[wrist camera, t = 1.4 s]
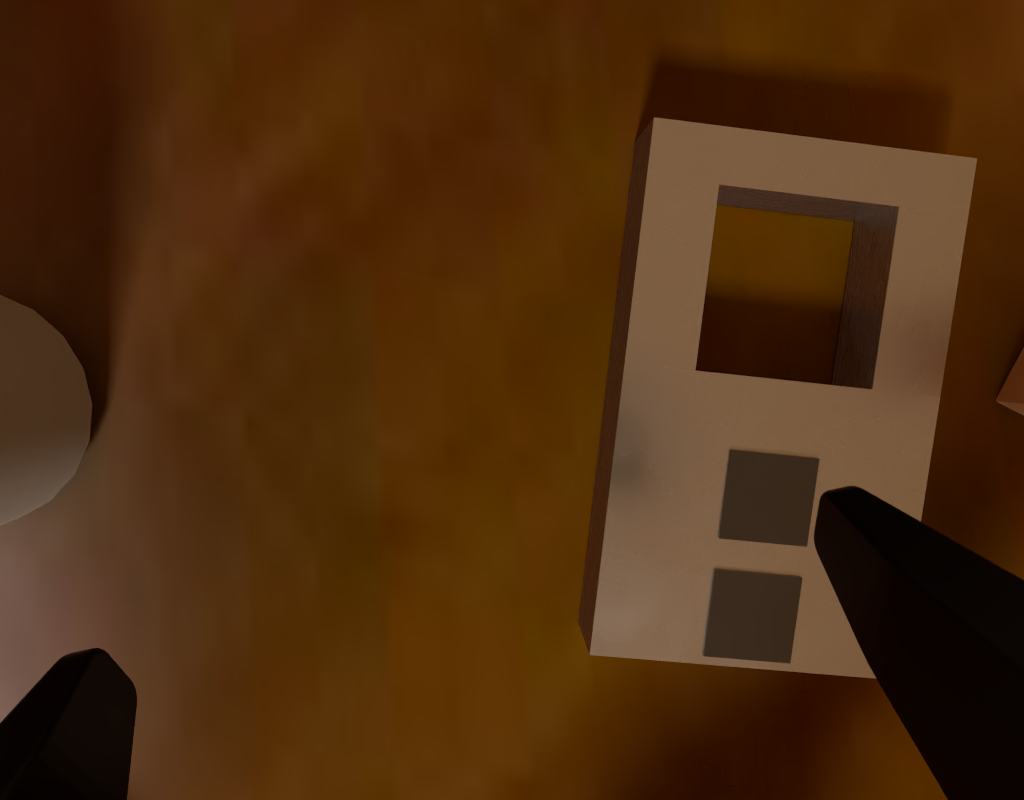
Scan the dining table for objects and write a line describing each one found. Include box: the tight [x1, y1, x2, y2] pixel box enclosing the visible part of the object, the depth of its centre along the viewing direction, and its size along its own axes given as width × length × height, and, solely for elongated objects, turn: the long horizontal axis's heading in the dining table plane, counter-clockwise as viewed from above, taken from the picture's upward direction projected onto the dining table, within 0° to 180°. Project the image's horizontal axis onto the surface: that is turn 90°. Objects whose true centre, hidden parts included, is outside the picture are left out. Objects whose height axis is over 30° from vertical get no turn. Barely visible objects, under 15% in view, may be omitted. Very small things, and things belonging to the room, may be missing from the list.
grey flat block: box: [578, 117, 977, 679], centre depth 23 cm, size 16×10×3 cm, turn 174°
